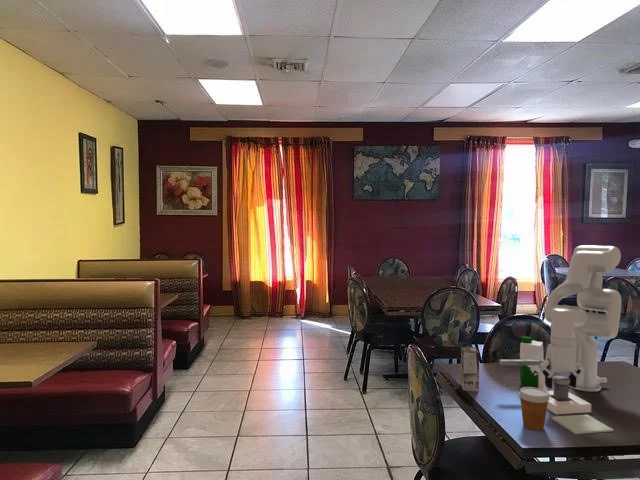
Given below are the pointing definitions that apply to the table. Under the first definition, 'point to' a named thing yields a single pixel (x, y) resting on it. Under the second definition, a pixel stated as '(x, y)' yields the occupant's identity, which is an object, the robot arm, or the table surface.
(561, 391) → the plug
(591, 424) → the rubber mat
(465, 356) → the coffee box
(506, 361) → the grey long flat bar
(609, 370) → the table surface
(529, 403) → the disposable coffee cup
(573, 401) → the socket base
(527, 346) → the milk carton
